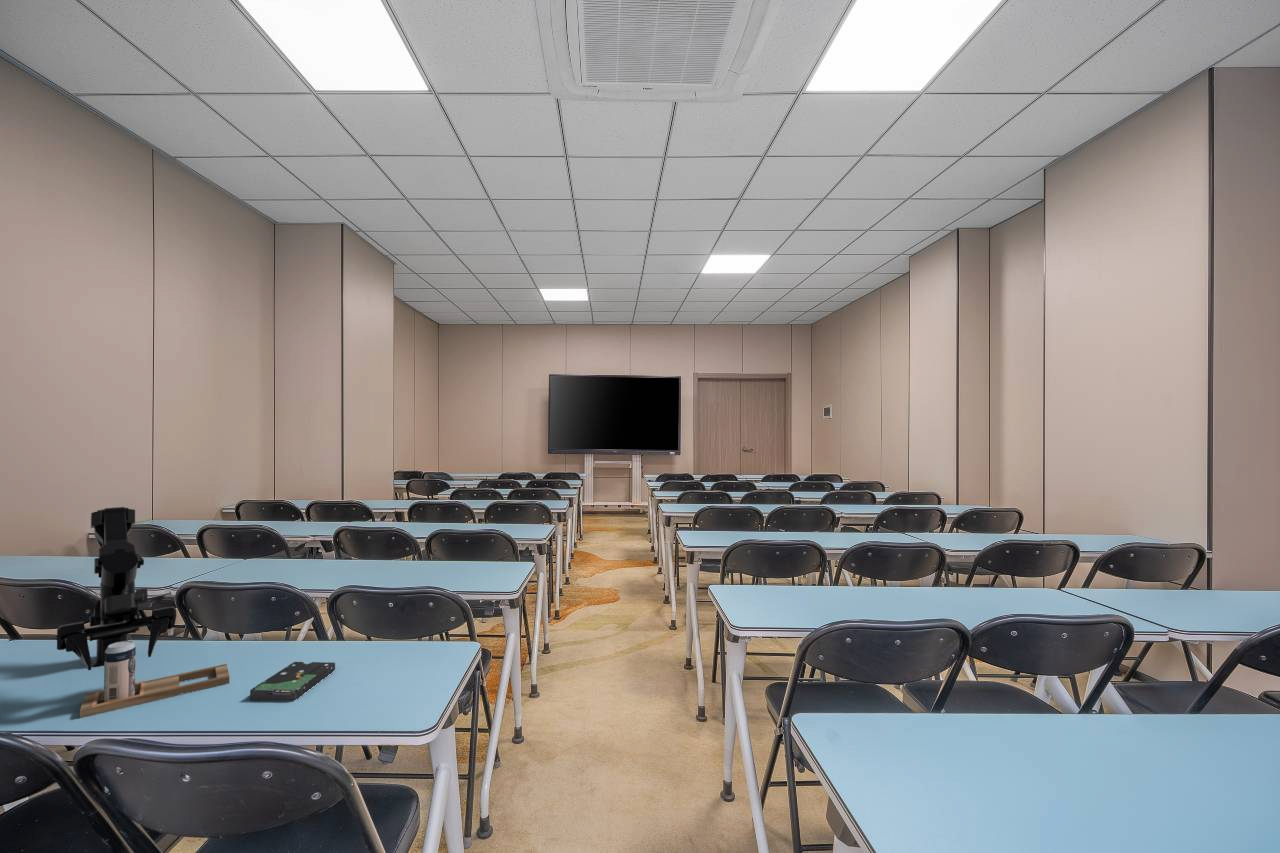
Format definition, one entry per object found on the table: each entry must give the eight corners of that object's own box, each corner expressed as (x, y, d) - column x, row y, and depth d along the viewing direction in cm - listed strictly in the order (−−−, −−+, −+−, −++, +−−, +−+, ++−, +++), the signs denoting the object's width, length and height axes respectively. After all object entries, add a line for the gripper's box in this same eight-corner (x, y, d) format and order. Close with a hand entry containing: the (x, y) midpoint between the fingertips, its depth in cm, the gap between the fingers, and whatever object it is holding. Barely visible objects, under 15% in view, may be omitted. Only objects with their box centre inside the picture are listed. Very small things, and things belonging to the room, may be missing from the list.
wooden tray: (85, 701, 116) (85, 693, 116) (226, 670, 132) (226, 663, 132) (79, 718, 109) (79, 710, 110) (229, 683, 125) (229, 676, 125)
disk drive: (293, 673, 132) (248, 702, 117) (293, 661, 132) (249, 689, 117) (335, 673, 132) (296, 703, 117) (336, 661, 132) (296, 689, 117)
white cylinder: (138, 698, 118) (139, 642, 118) (109, 708, 113) (110, 650, 114) (128, 693, 120) (129, 638, 120) (99, 702, 116) (100, 645, 116)
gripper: (58, 586, 113) (56, 656, 105) (176, 570, 126) (182, 631, 118) (57, 616, 118) (56, 684, 110) (171, 597, 132) (176, 657, 124)
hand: (120, 662), depth 116 cm, fingers open, 9 cm apart
